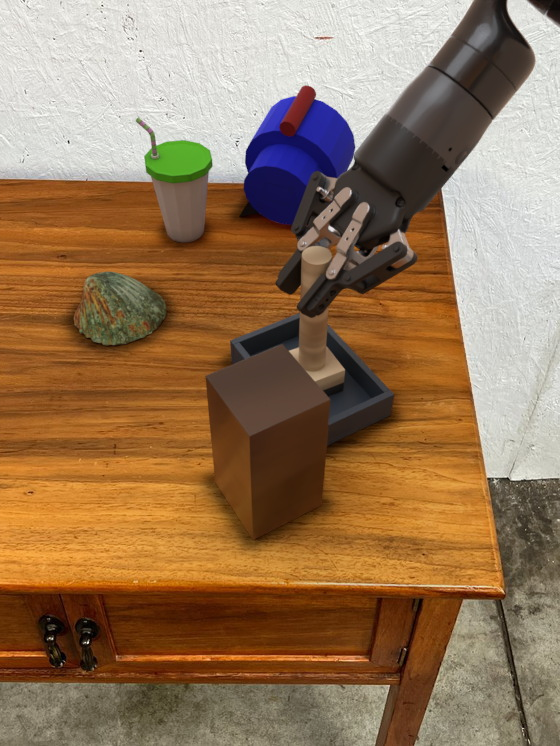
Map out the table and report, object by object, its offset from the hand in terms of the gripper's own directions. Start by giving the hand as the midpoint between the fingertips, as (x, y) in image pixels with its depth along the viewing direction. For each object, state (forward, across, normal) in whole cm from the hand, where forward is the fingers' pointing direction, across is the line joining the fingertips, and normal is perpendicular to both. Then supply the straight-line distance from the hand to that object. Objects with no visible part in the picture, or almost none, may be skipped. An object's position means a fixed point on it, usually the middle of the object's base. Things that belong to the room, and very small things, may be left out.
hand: (294, 301), depth 68 cm
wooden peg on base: (+7, 0, +10) cm, 12 cm away
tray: (+7, 0, +10) cm, 13 cm away
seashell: (+16, -20, +2) cm, 26 cm away
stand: (+14, +9, +3) cm, 17 cm away
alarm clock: (-3, -27, +21) cm, 34 cm away
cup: (+7, -30, +11) cm, 33 cm away
